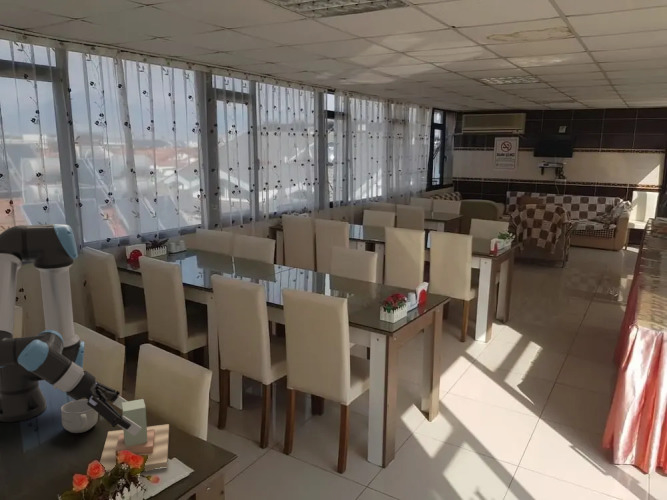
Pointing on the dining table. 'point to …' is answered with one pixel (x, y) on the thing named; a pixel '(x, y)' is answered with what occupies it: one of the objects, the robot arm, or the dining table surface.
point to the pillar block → (135, 421)
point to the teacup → (78, 416)
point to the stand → (138, 447)
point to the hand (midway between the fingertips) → (135, 420)
